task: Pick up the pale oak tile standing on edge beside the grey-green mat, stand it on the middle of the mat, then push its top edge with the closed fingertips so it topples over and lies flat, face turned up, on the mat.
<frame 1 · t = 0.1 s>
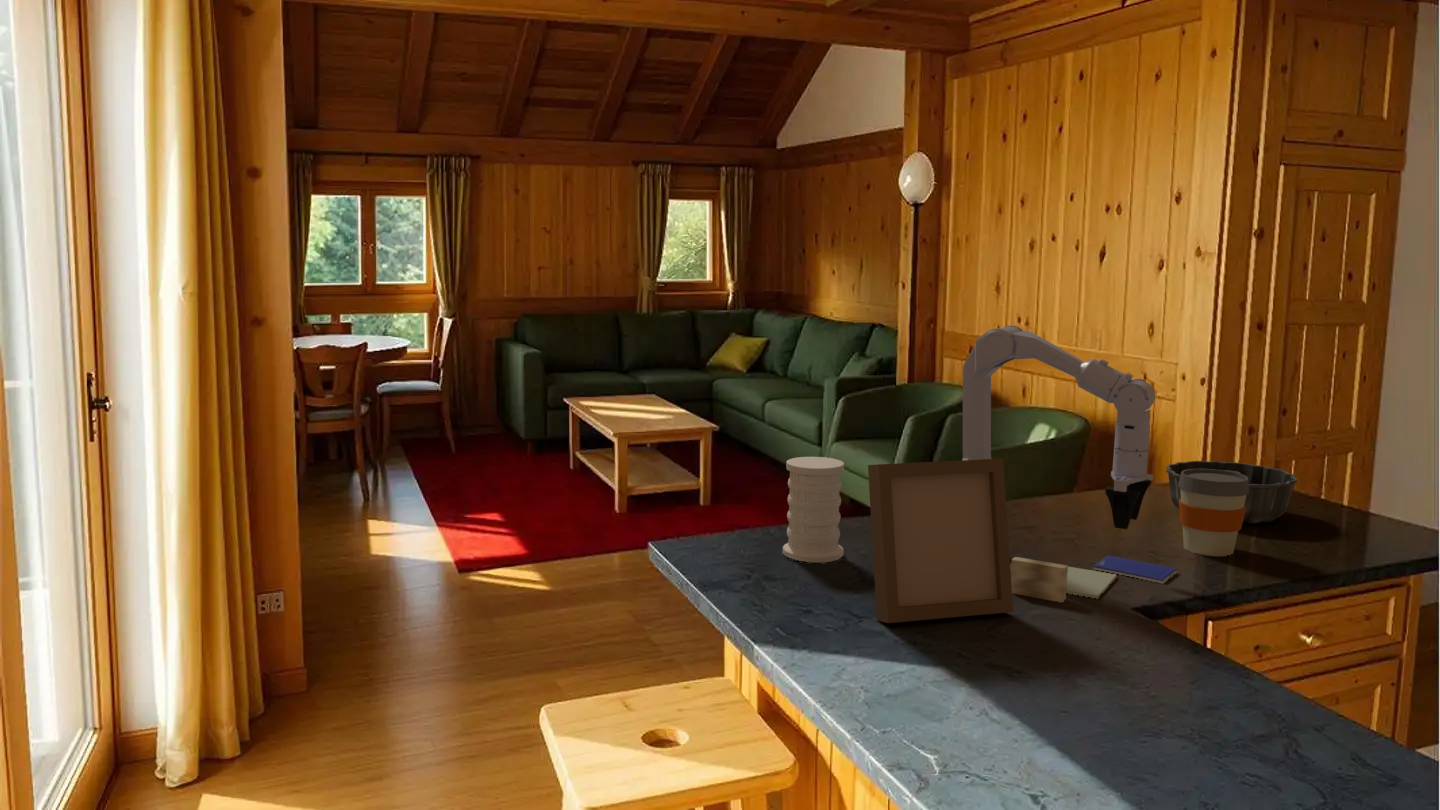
hand: (1125, 523, 196), 10 cm above the counter, tool pointing down, fingers open, 7 cm apart
decorative container: (812, 555, 210), on the counter
hard drive: (1134, 575, 202), on the counter
mat: (1055, 579, 196), on the counter
photo frame: (930, 609, 181), on the counter
bundt pan: (1226, 516, 243), on the counter
reusable coffee cup: (1208, 550, 216), on the counter
oak tile: (1037, 596, 187), on the counter
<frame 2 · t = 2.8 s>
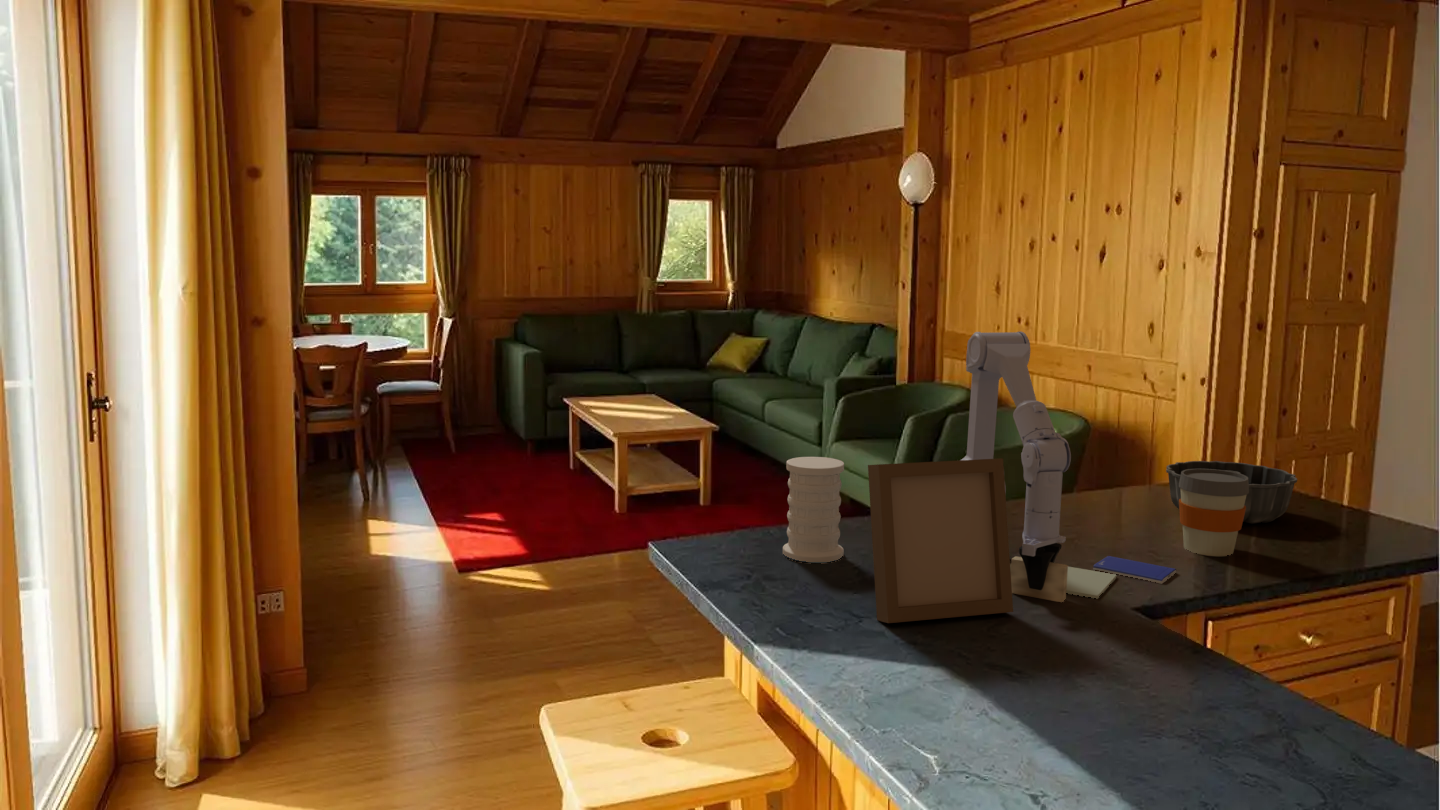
hand: (1038, 586, 187), 2 cm above the counter, tool pointing down, fingers closed on oak tile, 2 cm apart
oak tile: (1037, 595, 187), on the counter, touching gripper
everything else where it was.
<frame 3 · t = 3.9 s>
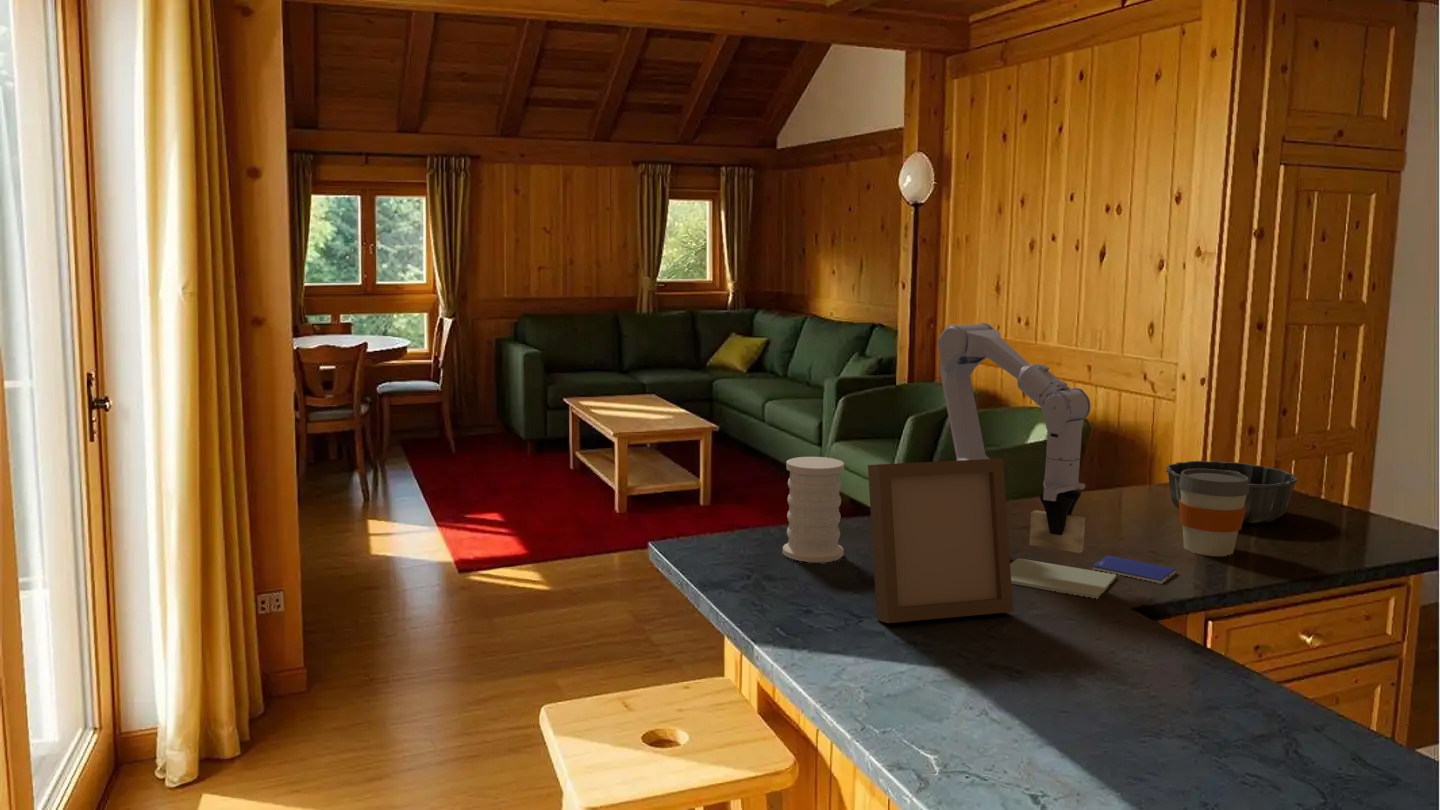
hand: (1058, 532, 195), 9 cm above the counter, tool pointing down, fingers closed on oak tile
oak tile: (1056, 547, 196), point 6 cm above the counter, touching gripper
everything else where it was.
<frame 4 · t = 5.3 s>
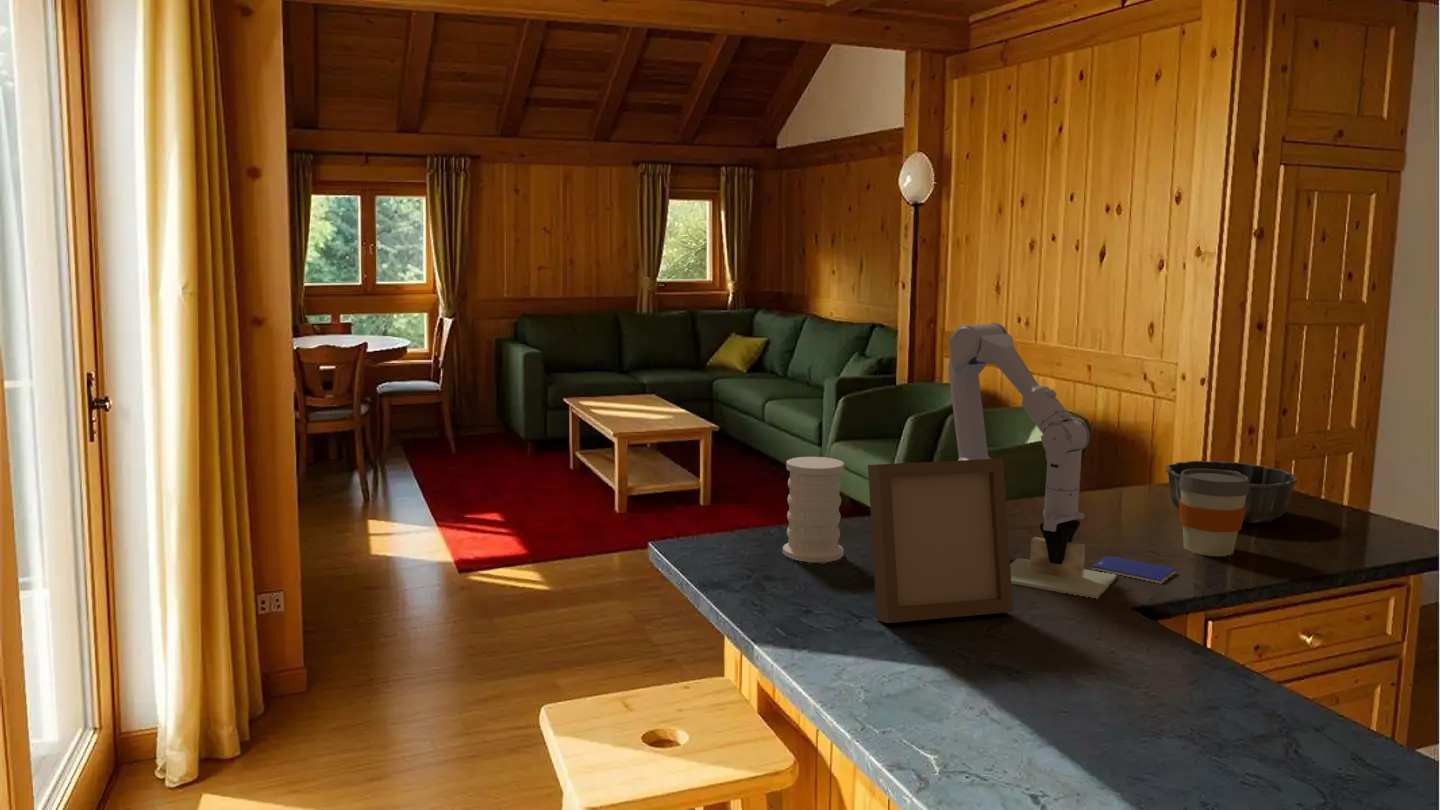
hand: (1057, 561, 197), 3 cm above the counter, tool pointing down, fingers closed on oak tile, 2 cm apart
oak tile: (1056, 574, 197), point 1 cm above the counter, touching gripper, mat
everything else where it was.
when the fingers open (3 cm above the counter, at t = 5.3 s): oak tile stays where it is, resting on mat.
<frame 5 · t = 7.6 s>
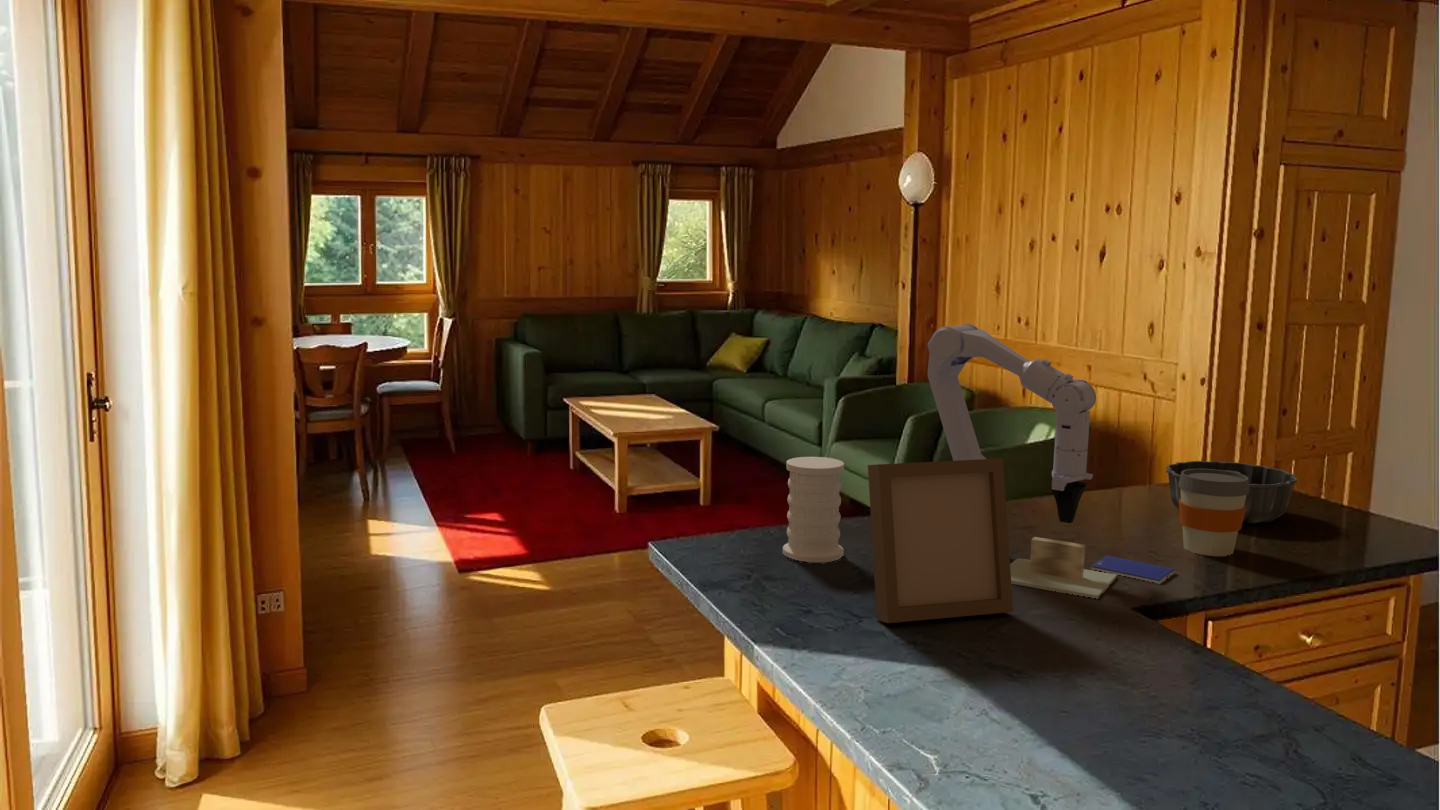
hand: (1066, 521, 199), 9 cm above the counter, tool pointing down, fingers closed
oak tile: (1056, 574, 197), point 1 cm above the counter, touching mat
everything else where it was.
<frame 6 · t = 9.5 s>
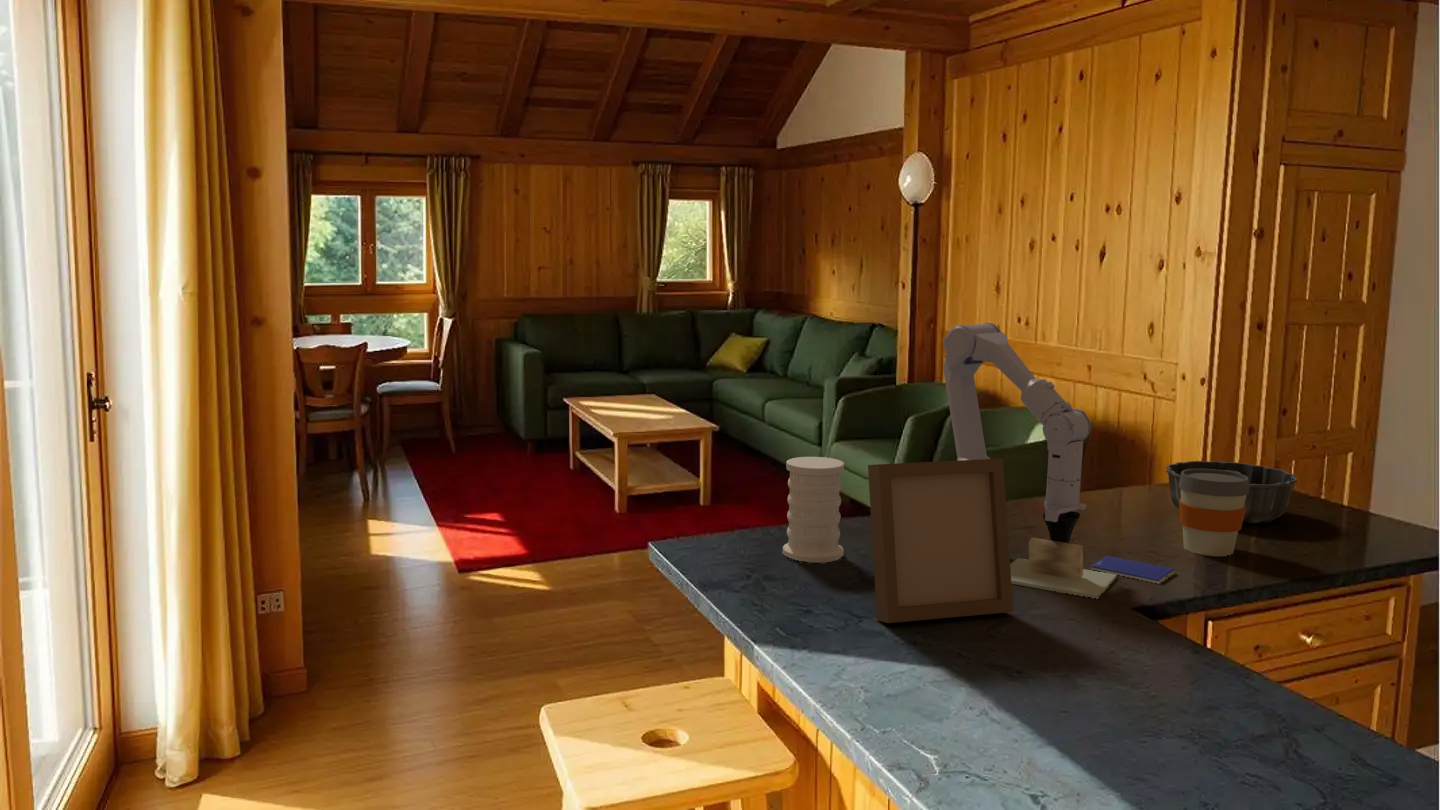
hand: (1059, 552, 197), 5 cm above the counter, tool pointing down, fingers closed
oak tile: (1056, 572, 197), point 1 cm above the counter, tilted 17°, touching gripper, mat
everything else where it was.
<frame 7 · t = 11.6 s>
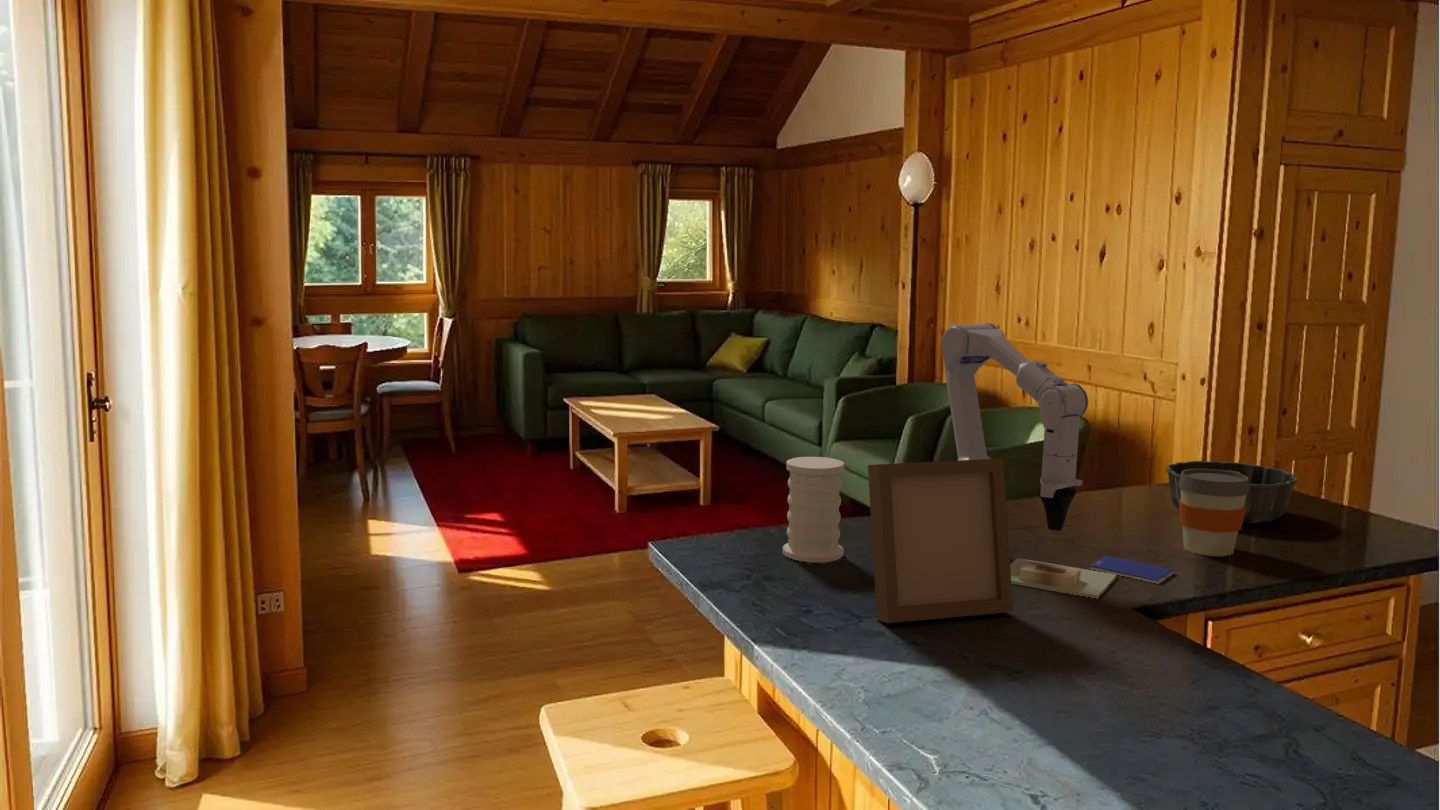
hand: (1055, 529, 193), 10 cm above the counter, tool pointing down, fingers closed
oak tile: (1054, 570, 196), point 2 cm above the counter, tilted 90°, touching mat
everything else where it was.
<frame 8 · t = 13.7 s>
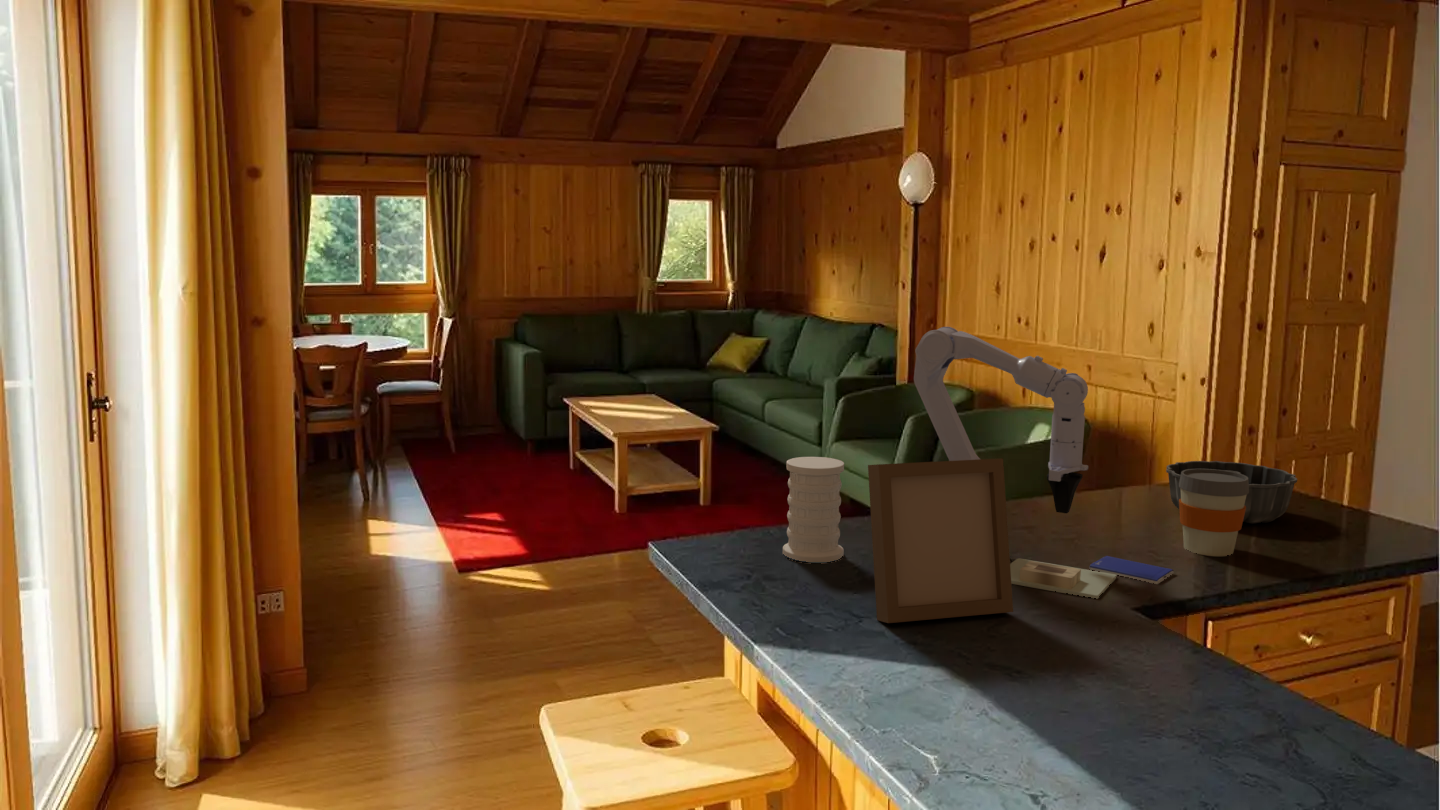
hand: (1062, 512, 204), 10 cm above the counter, tool pointing down, fingers closed
nothing on the counter moved.
at the end: oak tile tilted 90°; oak tile inside the target area on the mat (0.4 cm from its centre), point 1.6 cm above the mat's base; the gripper is holding nothing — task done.
